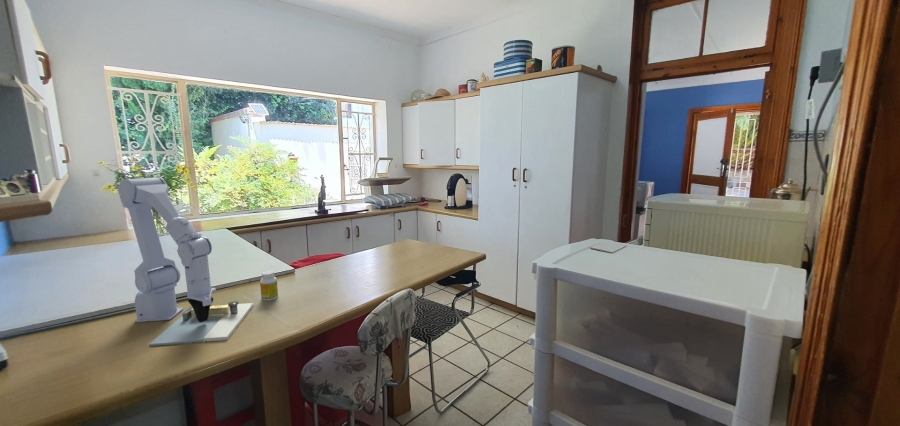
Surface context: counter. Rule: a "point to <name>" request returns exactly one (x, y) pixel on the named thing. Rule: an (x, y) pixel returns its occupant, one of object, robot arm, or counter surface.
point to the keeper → (187, 314)
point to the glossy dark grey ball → (233, 307)
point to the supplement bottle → (268, 286)
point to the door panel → (203, 328)
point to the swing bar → (216, 310)
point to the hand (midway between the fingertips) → (202, 320)
